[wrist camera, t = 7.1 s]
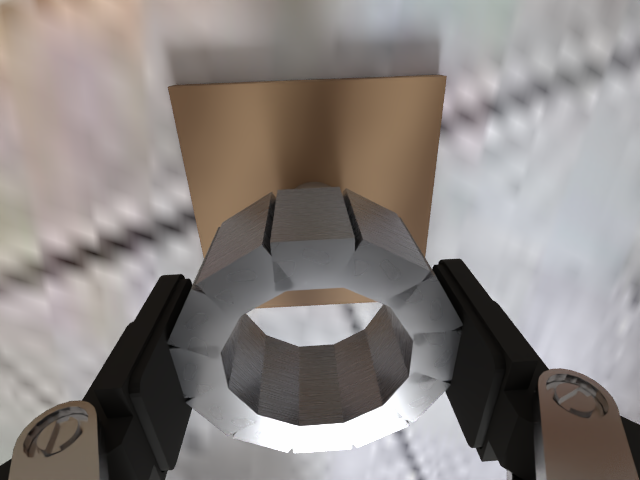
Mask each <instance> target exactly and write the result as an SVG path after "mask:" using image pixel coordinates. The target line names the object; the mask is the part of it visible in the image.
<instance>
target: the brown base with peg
mask: <svg viewBox="0 0 640 480" xmlns="http://www.w3.org/2000/svg"><path fill="white" fill-rule="evenodd" d="M446 77H447V76H443V75H420V76H394V77H368V78H342V79H316V80H290V81H264V82H238V83H212V84H186V85H173V86H169V87H168V90H169V95H170V100H171V104H172V109H173V114H174V119H175V123H176V128H177V133H178V138H179V142H180V147H181V152H182V157H183V161H184V166H185V171H186V176H187V180H188V185H189V190H190V195H191V199H192V204H193V209H194V214H195V218H196V223H197V228H198V233H199V237H200V242H201V247H202V252H203V256H204V258H205V256H206V254H207V252H208V249H209V247H210V245H211V243H212V240H213V238H214V236H215V234H216V231H217V229H218V227H221V224H222V222H224V221H226V220H227V219H229V218H230V217H232V216H234V215H235V214H237V213H238V212H240V211H242V210H243V209H245V208H246V207H248V206H249V205H251V204H253V203H254V202H256V201H257V200H259V199H261V198H262V197H264V196H265V195H267V194H269V193H270V192H272V193H273V194H274V195H275V197H277V190H283V189H303V188H324V187H340V189H341V193H343V192H344V190H345V188H347V189H349V190H351V191H353V192H355V193H357V194H359V195H361V196H363V197H365V198H367V199H369V200H371V201H373V202H375V203H377V204H379V205H381V206H383V207H385V208H387V209H389V210H391V211H393V212H395V213H397V215H398V217H399V218H400V217H401V219H402V220H403V222H404V224H405V225H406V227H407V229H408V230H409V232H410V234H411V235H412V237H413V239H414V240H415V242H416V244H417V245H418V247H419V249H420V250H421V252H422V254H423V255H424V257H425V254H426V245H427V237H428V228H429V220H430V212H431V203H432V195H433V186H434V178H435V170H436V161H437V153H438V145H439V136H440V128H441V119H442V111H443V103H444V94H445V86H446ZM366 302H377V301H375V300H372V299H370V298H367V297H365V296H363V295H360V294H358V293H355V292H353V291H351V290H348V289H346V288H327V289H310V290H293V291H285V292H283V293H282V294H280V295H278V296H276V297H274V298H273V299H271V300H269V301H267V302H265V303H264V304H262V305H260V306H258V307H256V308H272V307H291V306H310V305H328V304H347V303H366Z"/></svg>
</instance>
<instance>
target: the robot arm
mask: <svg viewBox="0 0 640 480" xmlns="http://www.w3.org/2000/svg"><path fill="white" fill-rule="evenodd" d="M432 270H433V272H434V274H435V275H436V277H437V279H438V281H439V283H440V284H441V286H442V288H443V290H444V291H445V293H446V295H447V297H448V299H449V300H450V302H451V304H452V306H453V307H454V309H455V311H456V313H457V314H458V316H459V318H460V320H461V322H462V323H463V326H461V327H460V328H461V330H462V332H461V337H460V342H459V347H458V352H457V357H456V362H455V367H454V372H453V377H452V380H449V381H450V383H451V385H450V386H449V387H448V388H447V390H446V391H445V392H446V394H447V396H448V399H449V401H450V403H451V406H452V408H453V410H454V413H455V415H456V417H457V420H458V422H459V424H460V427H461V429H462V431H463V434H464V436H465V438H466V441H467V443H468V445H469V446H470V447H471V448H476V449H477V452H478V454H479V456H480V459H481V461H496V460H498V461H499V463H500V465H501V466H502V467H503V468H505V469H507V480H640V425H639V424H637V423H635V422H632V421H630V420H628V419H626V418H624V417H622V416H620V414H619V411H618V407H617V405H616V403H615V401H614V399H613V397H612V396H611V395H610V394H609V393H608V391H607V390H606V389H605V388H604V387H602V386H601V385H600V384H598V383H597V382H596V381H594V380H593V379H591V378H589V377H587V376H585V375H583V374H581V373H578V372H575V371H572V370H567V369H561V368H559V369H550V370H549V369H548V368H547V366H546V365H545V364H544V362H543V361H542V360H541V359H540V357H539V356H538V355H537V353H536V352H535V351H534V350H533V348H532V347H531V346H530V344H529V343H528V342H527V341H526V339H525V338H524V337H523V335H522V334H521V333H520V331H519V330H518V329H517V328H516V326H515V325H514V324H513V322H512V321H511V320H510V319H509V317H508V316H507V315H506V313H505V312H504V311H503V310H502V308H501V307H500V306H499V304H497V303H496V302H495V301H493V300H492V299H491V298H490V296H489V295H488V294H487V292H486V291H485V290H484V288H483V287H482V286H481V284H480V283H479V282H478V281H477V279H476V278H475V277H474V275H473V274H472V273H471V271H470V270H469V269H468V267H467V266H466V265H465V263H464V262H463V261H462V260H461V259H445V260H440V261H439V264H438V265H434V266H433V269H432ZM191 288H192V283H191V280H190V279H185V277H184V276H183V275H182V274H177V275H163V276H161V277H160V278H159V280H158V282H157V283H156V285H155V287H154V288H153V290H152V292H151V293H150V295H149V297H148V298H147V300H146V302H145V303H144V305H143V307H142V309H141V310H140V312H139V314H138V315H137V317H136V319H135V320H134V322H132V323H130V324H129V325H128V326H127V327H126V329H125V331H124V332H123V334H122V336H121V337H120V339H119V341H118V342H117V344H116V346H115V347H114V349H113V350H112V352H111V354H110V355H109V357H108V359H107V360H106V362H105V364H104V365H103V367H102V369H101V370H100V372H99V374H98V375H97V377H96V379H95V380H94V382H93V383H92V385H91V387H90V388H89V390H88V392H87V393H86V395H85V397H84V398H83V400H82V401H81V400H79V401H69V402H66V403H62V404H59V405H57V406H55V407H53V408H51V409H49V410H46V411H45V412H44V413H42V414H41V415H39V416H38V417H36V418H35V419H34V420H33V421H32V422H31V423H30V424H29V425H28V426H27V427H26V428H24V430H23V431H22V433H21V434H20V436H19V437H18V438H17V441H16V443H15V446H14V449H13V455H12V459H10V460H9V461H7V462H6V463H4V464H2V465H1V466H0V480H165V478H166V474H167V471H168V470H173V469H174V467H175V465H176V462H177V459H178V455H179V452H180V448H181V445H182V441H183V438H184V435H185V431H186V428H187V424H188V421H189V417H190V414H191V410H192V407H190V406H189V405H188V404H187V403H186V400H187V398H184V395H183V391H182V388H181V385H180V382H179V378H178V375H177V372H176V369H175V366H174V362H173V359H172V356H171V353H170V350H169V348H170V346H171V345H170V344H168V343H167V342H168V340H169V338H170V335H171V333H172V331H173V328H174V326H175V324H176V322H177V319H178V317H179V315H180V313H181V310H182V308H183V306H184V303H185V301H186V299H187V297H188V294H189V292H190V290H191Z"/></svg>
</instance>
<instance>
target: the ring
mask: <svg viewBox="0 0 640 480" xmlns="http://www.w3.org/2000/svg"><path fill="white" fill-rule="evenodd" d="M327 288H346V289H348V290H351V291H353V292H355V293H358V294H360V295H363V296H365V297H367V298H370V299H372V300H375V301H377V302H379V303H382V304H383V306H382V307H381V308H380V310H379V311H378V312H377V314H376V315H375V316H374V318H373V319H372V320H371V322H370V323H369V324H368V326H367V327H366V328H365V329H364V330H362V331H360V332H358V333H356V334H354V335H352V336H350V337H348V338H346V339H344V340H342V341H340V342H338V343H336V344H334V345H319V346H303V347H298V346H295V345H292V344H290V343H287V342H284V341H281V340H278V339H275V338H273V337H270V336H267V335H266V334H265V333H264V332H263V331H262V330H261V329H260V328H259V327H258V326H257V325H256V324H255V323H254V322H253V321H252V320H251V319H250V318H249V317H248V315H247V314H246V313H247V312H249V311H251V310H253V309H254V308H256V307H258V306H260V305H262V304H264V303H265V302H267V301H269V300H271V299H273V298H274V297H276V296H278V295H280V294H282V293H283V292H285V291H293V290H310V289H327ZM461 326H463V323H462V322H461V320H460V318H459V316H458V314H457V313H456V311H455V309H454V307H453V306H452V304H451V302H450V300H449V299H448V297H447V295H446V293H445V291H444V290H443V288H442V286H441V284H440V283H439V281H438V279H437V277H436V275H435V274H434V272H433V270H432V269H431V267H430V265H429V264H428V262H427V260H426V259H425V257H424V255H423V254H422V252H421V250H420V249H419V247H418V245H417V244H416V242H415V240H414V239H413V237H412V235H411V234H410V232H409V230H408V229H407V227H406V225H405V224H404V222H403V220H402V219H401V217H400V218H399V217H398V215H397V213H395V212H393V211H391V210H389V209H387V208H385V207H383V206H381V205H379V204H377V203H375V202H373V201H371V200H369V199H367V198H365V197H363V196H361V195H359V194H357V193H355V192H353V191H351V190H349V189H347V188H345V190H344V192H343V193H341V189H340V187H324V188H303V189H283V190H277V197H275V195H274V194H273V193H272V192H270V193H269V194H267V195H265V196H264V197H262V198H261V199H259V200H257V201H256V202H254V203H253V204H251V205H249V206H248V207H246V208H245V209H243V210H242V211H240V212H238V213H237V214H235V215H234V216H232V217H230V218H229V219H227V220H226V221H224V222H222V224H221V227H218V229H217V231H216V234H215V236H214V238H213V240H212V243H211V245H210V247H209V249H208V252H207V254H206V256H205V258H204V260H203V263H202V265H201V267H200V269H199V272H198V274H197V276H196V278H195V281H194V283H193V285H192V288H191V290H190V292H189V294H188V297H187V299H186V301H185V303H184V306H183V308H182V310H181V313H180V315H179V317H178V319H177V322H176V324H175V326H174V328H173V331H172V333H171V335H170V338H169V340H168V342H167V343H168V344H170V345H171V346H170V348H169V350H170V353H171V356H172V359H173V362H174V366H175V369H176V372H177V375H178V378H179V382H180V385H181V388H182V391H183V395H184V398H187V400H186V403H187V404H188V405H189V406H190V407H192V408H193V409H194V410H195V411H197V412H198V413H199V414H200V415H202V416H203V417H204V418H206V419H207V420H208V421H209V422H211V423H212V424H213V425H214V426H216V427H217V428H218V429H219V430H221V431H222V432H223V433H225V434H226V435H227V436H228V435H230V434H233V438H234V439H237V440H241V441H245V442H249V443H253V444H256V445H260V446H264V447H268V448H272V449H275V450H279V451H283V452H287V453H288V452H289V451H290V449H291V448H292V447H293V453H304V452H317V451H331V450H345V449H352V443H353V444H354V445H355V446H356V447H357V448H358V447H360V446H362V445H365V444H367V443H370V442H372V441H374V440H377V439H379V438H381V437H384V436H386V435H389V434H391V433H393V432H396V431H398V430H400V429H403V428H405V427H408V426H410V425H409V422H408V421H411V422H415V421H416V420H417V419H418V418H419V417H420V416H421V415H422V414H423V413H424V412H425V411H426V410H427V409H428V408H429V407H430V406H431V405H432V404H433V403H434V402H435V401H436V400H437V399H438V398H439V397H440V396H441V395H442V394H443V393H444V392H445V391H446V390H447V388H448V387H449V386H450V385H451V383H450V381H449V380H452V377H453V372H454V367H455V362H456V357H457V352H458V347H459V342H460V337H461V332H462V330H461V328H460V327H461Z"/></svg>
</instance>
